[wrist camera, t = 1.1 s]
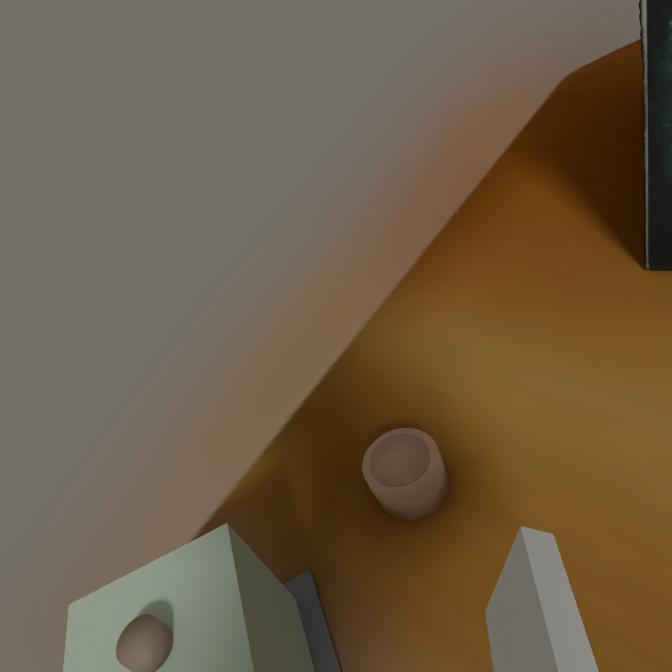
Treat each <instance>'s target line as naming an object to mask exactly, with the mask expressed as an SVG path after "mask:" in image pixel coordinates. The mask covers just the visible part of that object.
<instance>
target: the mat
mask: <svg viewBox="0 0 672 672" xmlns="http://www.w3.org/2000/svg"><path fill="white" fill-rule="evenodd" d="M283 585H284V587H285V588H286V589H287V590H288V591H289V592H290V593H291V594H292V595H293V597H294V598H295V599H296V602H297V606H298V609H299V613H300V617H301V621H302V625H303V628H304V632H305V636H306V640H307V643H308V647H309V651H310V655H311V658H312V662H313V666H314V670H315V672H342V670H341V667H340V663H339V660H338V657H337V653H336V650H335V647H334V644H333V640H332V637H331V634H330V630H329V627H328V624H327V620H326V617H325V614H324V611H323V607H322V604H321V601H320V597H319V594H318V591H317V587H316V584H315V581H314V578H313V574H312V572H311V571H310V570H308V571H306V572H304V573H302V574H300V575H299V576H297V577H295V578H293V579H291V580H289V581H287V582H285V583H283Z"/></svg>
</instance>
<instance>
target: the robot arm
mask: <svg viewBox="0 0 672 672" xmlns="http://www.w3.org/2000/svg"><path fill="white" fill-rule="evenodd" d="M485 613H486V620H487V628H488V635H489V642H490V649H491V656H492V663H493V670H494V672H599V671H598V668H597V665H596V662H595V659H594V656H593V653H592V650H591V647H590V644H589V641H588V638H587V635H586V632H585V629H584V626H583V623H582V620H581V617H580V614H579V611H578V608H577V605H576V602H575V599H574V596H573V593H572V590H571V587H570V584H569V581H568V578H567V574H566V571H565V568H564V565H563V562H562V559H561V556H560V553H559V550H558V547H557V544H556V541H555V538H554V535H553V534H550V533H546V532H542V531H538V530H534V529H530V528H526V527H522V526H520V529H519V531H518V534H517V536H516V538H515V541H514V543H513V546H512V548H511V551H510V553H509V555H508V558H507V560H506V563H505V565H504V567H503V570H502V572H501V575H500V577H499V579H498V582H497V584H496V587H495V589H494V592H493V594H492V596H491V599H490V601H489V604H488V606H487V608H486V611H485Z"/></svg>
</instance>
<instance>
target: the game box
mask: <svg viewBox="0 0 672 672" xmlns="http://www.w3.org/2000/svg"><path fill="white" fill-rule="evenodd" d="M639 9H640V15H639V18H640V26H641V33H640V36H641V52H642V56H641V58H642V59H643V130H644V220H645V244H644V258H645V264H646V268H647V269H649V270H672V0H640V2H639Z"/></svg>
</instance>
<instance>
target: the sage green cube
mask: <svg viewBox="0 0 672 672" xmlns="http://www.w3.org/2000/svg"><path fill="white" fill-rule="evenodd" d="M63 672H315V670H314V666H313V662H312V658H311V655H310V651H309V647H308V643H307V640H306V636H305V632H304V628H303V625H302V621H301V617H300V613H299V609H298V606H297V602H296V599H295V598H294V597H293V595H292V594H291V593H290V592H289V591H288V590H287V589H286V588H285V587H284V585H283V584H282V583H281V582H280V581H279V580H278V579H277V578H276V577H275V575H274V574H273V573H272V572H271V571H270V570H269V569H268V568H267V567H266V565H265V564H264V563H263V562H262V561H261V560H260V559H259V558H258V557H257V556H256V554H255V553H254V552H253V551H252V550H251V549H250V548H249V547H248V546H247V544H246V543H245V542H244V541H243V540H242V539H241V538H240V537H239V536H238V534H237V533H236V532H235V531H234V530H233V529H232V528H231V527H230V526H229V524H228V523H226V524H224V525H222V526H220V527H218V528H216V529H214V530H212V531H211V532H209V533H207V534H205V535H203V536H201V537H199V538H197V539H195V540H193V541H191V542H189V543H187V544H185V545H184V546H182V547H180V548H178V549H176V550H174V551H172V552H170V553H168V554H166V555H164V556H162V557H160V558H158V559H156V560H155V561H153V562H151V563H149V564H147V565H145V566H143V567H141V568H139V569H138V570H135V571H133V572H132V573H129V574H128V575H126V576H124V577H122V578H120V579H118V580H116V581H114V582H112V583H110V584H108V585H106V586H104V587H102V588H101V589H99V590H97V591H95V592H93V593H91V594H89V595H87V596H85V597H83V598H81V599H79V600H77V601H75V602H74V603H72V604H70V605H69V609H68V620H67V632H66V644H65V656H64V667H63Z"/></svg>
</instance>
